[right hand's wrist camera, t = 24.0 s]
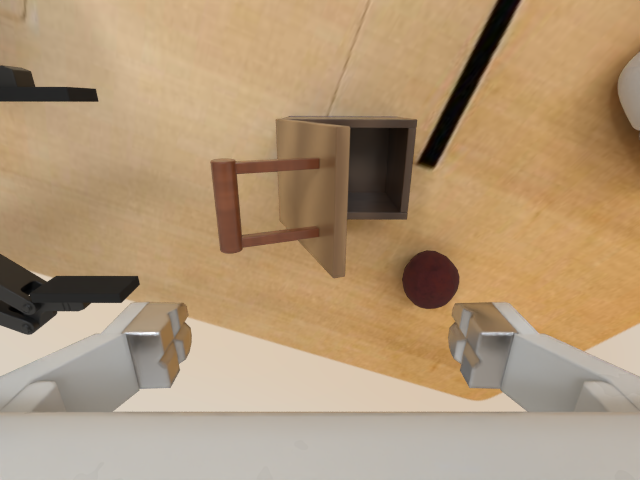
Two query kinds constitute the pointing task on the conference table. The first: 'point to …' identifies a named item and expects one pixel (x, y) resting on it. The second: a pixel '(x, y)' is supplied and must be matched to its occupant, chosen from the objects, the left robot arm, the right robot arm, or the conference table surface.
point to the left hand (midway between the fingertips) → (110, 202)
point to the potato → (430, 280)
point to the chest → (376, 164)
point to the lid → (294, 192)
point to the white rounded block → (631, 91)
